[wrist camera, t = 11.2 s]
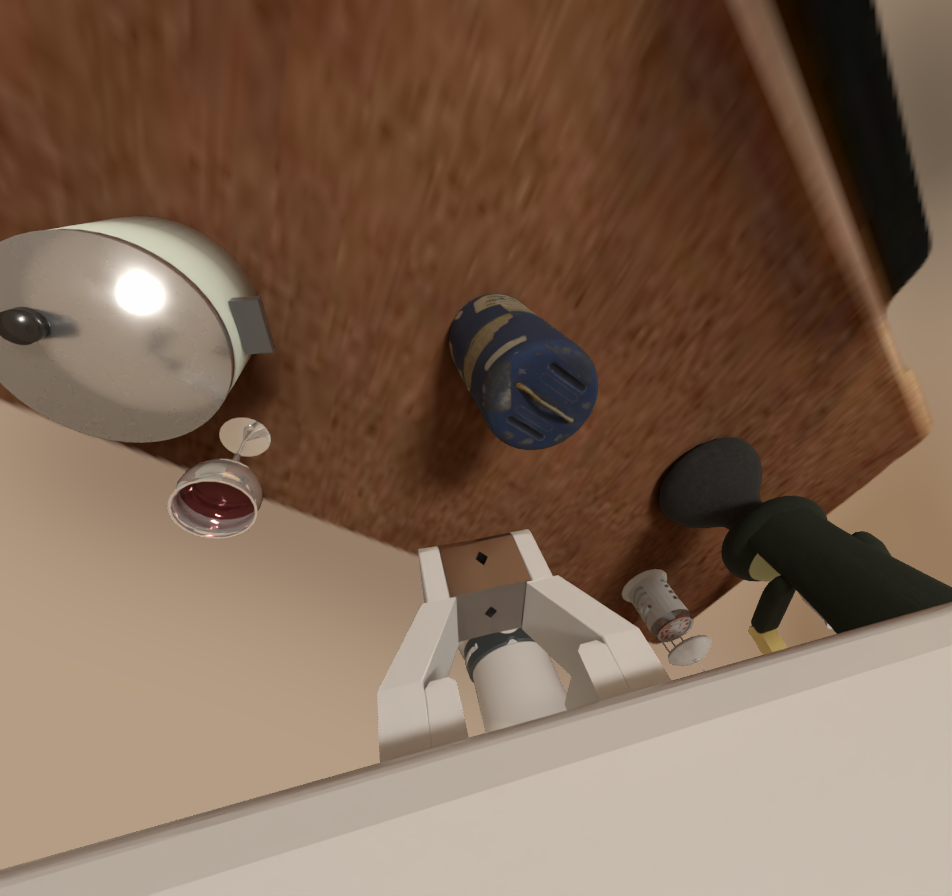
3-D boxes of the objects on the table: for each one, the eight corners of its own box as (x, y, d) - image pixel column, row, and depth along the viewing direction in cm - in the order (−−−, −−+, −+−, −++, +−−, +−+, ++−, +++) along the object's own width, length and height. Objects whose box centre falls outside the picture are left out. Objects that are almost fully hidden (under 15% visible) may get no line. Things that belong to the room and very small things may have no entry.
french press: (669, 562, 78) (778, 697, 58) (663, 597, 85) (760, 729, 65) (622, 578, 77) (716, 721, 57) (620, 612, 84) (704, 750, 64)
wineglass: (290, 427, 45) (272, 496, 35) (263, 471, 47) (239, 548, 37) (224, 398, 42) (184, 466, 32) (199, 447, 44) (154, 524, 34)
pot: (300, 370, 42) (286, 416, 34) (98, 388, 38) (29, 445, 30) (259, 213, 34) (229, 224, 26) (1, 218, 30) (-127, 232, 22)
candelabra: (660, 537, 73) (963, 896, 36) (624, 459, 60) (1038, 892, 24) (756, 481, 71) (1181, 803, 34) (741, 387, 58) (1393, 744, 21)
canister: (480, 391, 48) (534, 484, 34) (427, 333, 43) (463, 412, 28) (544, 337, 46) (630, 410, 32) (497, 269, 41) (574, 319, 26)
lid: (258, 424, 33) (252, 437, 31) (53, 447, 30) (33, 463, 28) (193, 225, 25) (180, 227, 23) (-87, 232, 23) (-126, 235, 21)
